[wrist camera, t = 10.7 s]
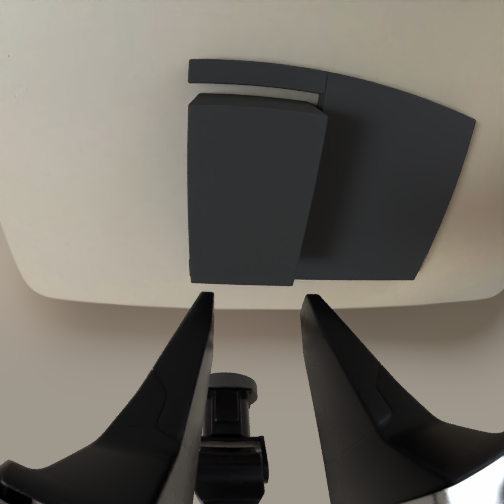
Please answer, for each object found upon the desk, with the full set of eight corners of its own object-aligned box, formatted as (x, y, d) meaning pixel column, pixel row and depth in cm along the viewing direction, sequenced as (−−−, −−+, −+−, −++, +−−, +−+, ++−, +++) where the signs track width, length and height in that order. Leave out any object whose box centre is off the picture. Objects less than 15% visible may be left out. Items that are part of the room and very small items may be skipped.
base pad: (408, 271, 23) (414, 280, 22) (191, 265, 21) (189, 276, 20) (465, 115, 15) (476, 120, 14) (192, 59, 13) (188, 59, 12)
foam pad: (283, 246, 21) (292, 286, 18) (196, 242, 20) (190, 283, 17) (308, 101, 15) (329, 116, 12) (198, 93, 14) (188, 104, 11)
